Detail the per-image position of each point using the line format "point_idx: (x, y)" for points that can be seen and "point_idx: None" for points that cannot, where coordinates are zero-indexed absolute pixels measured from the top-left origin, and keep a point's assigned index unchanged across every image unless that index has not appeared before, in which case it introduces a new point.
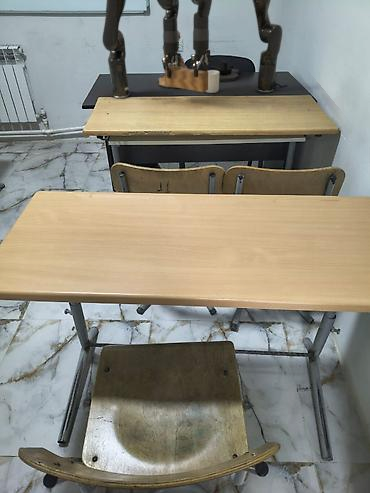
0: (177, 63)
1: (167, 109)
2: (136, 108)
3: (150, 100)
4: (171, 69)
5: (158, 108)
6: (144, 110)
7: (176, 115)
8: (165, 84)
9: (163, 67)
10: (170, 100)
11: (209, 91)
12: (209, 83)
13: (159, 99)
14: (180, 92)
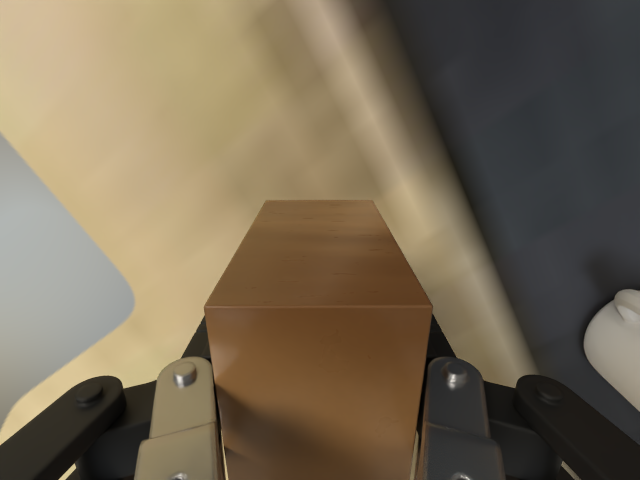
0: (539, 469)
1: (161, 273)
2: (3, 42)
3: (232, 13)
4: (228, 451)
5: (133, 208)
6: (27, 140)
7: (123, 370)
8: (265, 205)
9: (29, 422)
10: (325, 181)
11: (587, 348)
12: (635, 390)
13: (299, 78)
14: (546, 133)
